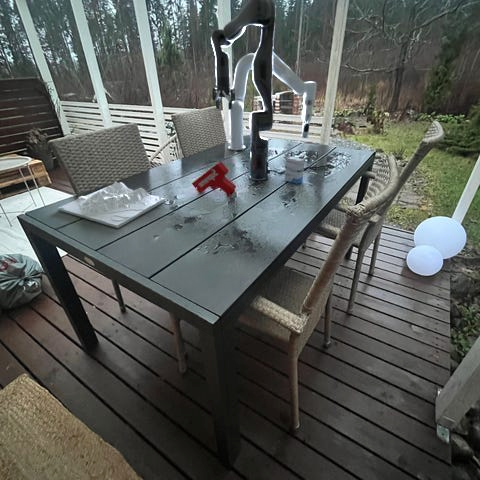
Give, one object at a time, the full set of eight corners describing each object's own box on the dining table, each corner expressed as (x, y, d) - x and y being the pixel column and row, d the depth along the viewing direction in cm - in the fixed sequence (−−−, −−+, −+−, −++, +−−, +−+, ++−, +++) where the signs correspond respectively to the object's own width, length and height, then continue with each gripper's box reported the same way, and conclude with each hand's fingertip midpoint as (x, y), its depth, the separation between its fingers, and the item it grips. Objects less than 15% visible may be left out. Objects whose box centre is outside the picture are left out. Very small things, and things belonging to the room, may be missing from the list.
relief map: (117, 228, 103) (114, 216, 100) (59, 210, 116) (54, 199, 113) (165, 201, 123) (163, 190, 120) (110, 188, 136) (107, 178, 134)
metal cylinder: (308, 136, 198) (309, 122, 193) (307, 138, 194) (309, 123, 189) (301, 136, 199) (303, 122, 194) (301, 137, 195) (302, 123, 190)
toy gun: (240, 187, 127) (221, 160, 123) (237, 190, 124) (218, 163, 120) (214, 205, 137) (195, 180, 133) (210, 208, 134) (191, 183, 130)
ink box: (302, 181, 142) (305, 159, 136) (297, 184, 139) (300, 161, 133) (289, 177, 147) (291, 156, 141) (284, 180, 144) (285, 158, 138)
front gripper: (237, 76, 145) (238, 109, 154) (216, 75, 152) (218, 107, 161) (229, 76, 140) (230, 110, 149) (208, 76, 147) (210, 109, 156)
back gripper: (301, 101, 192) (298, 128, 201) (305, 104, 177) (302, 133, 187) (311, 101, 191) (308, 128, 201) (317, 104, 177) (313, 133, 187)
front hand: (224, 109), depth 155 cm, fingers open, 8 cm apart
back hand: (305, 130), depth 194 cm, fingers closed on metal cylinder, 4 cm apart
